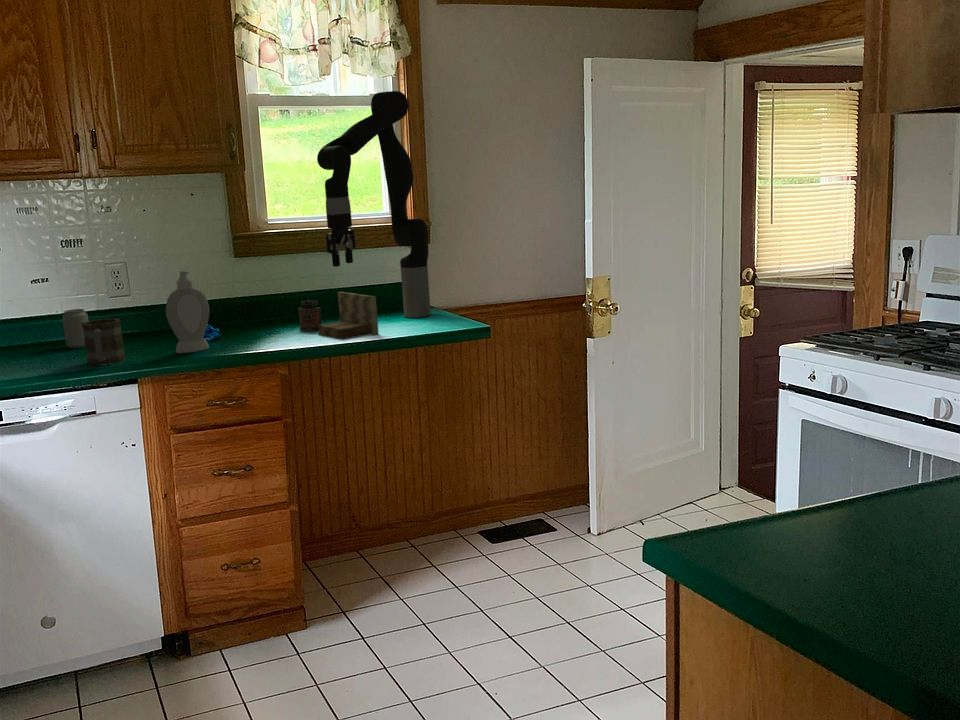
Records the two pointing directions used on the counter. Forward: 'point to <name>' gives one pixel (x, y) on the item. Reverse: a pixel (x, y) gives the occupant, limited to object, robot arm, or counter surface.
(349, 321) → the wooden bookend
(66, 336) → the can
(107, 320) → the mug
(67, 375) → the counter surface
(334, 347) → the counter surface
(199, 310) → the soap bottle
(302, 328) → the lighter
